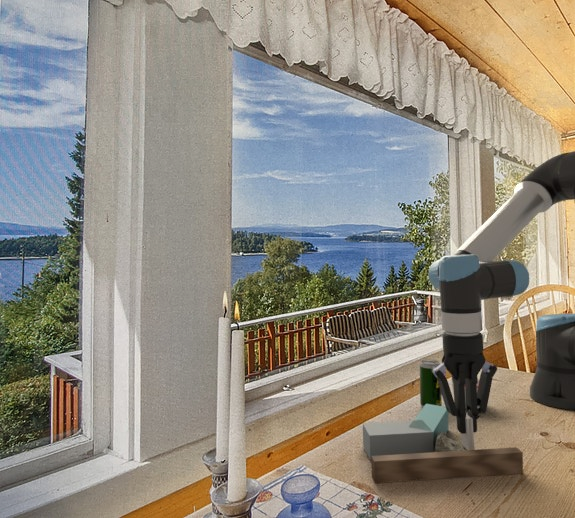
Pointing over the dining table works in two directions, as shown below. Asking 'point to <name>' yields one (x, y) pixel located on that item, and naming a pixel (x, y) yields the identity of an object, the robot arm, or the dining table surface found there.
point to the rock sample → (447, 444)
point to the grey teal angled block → (406, 433)
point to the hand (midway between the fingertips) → (467, 447)
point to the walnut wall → (447, 464)
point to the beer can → (429, 384)
